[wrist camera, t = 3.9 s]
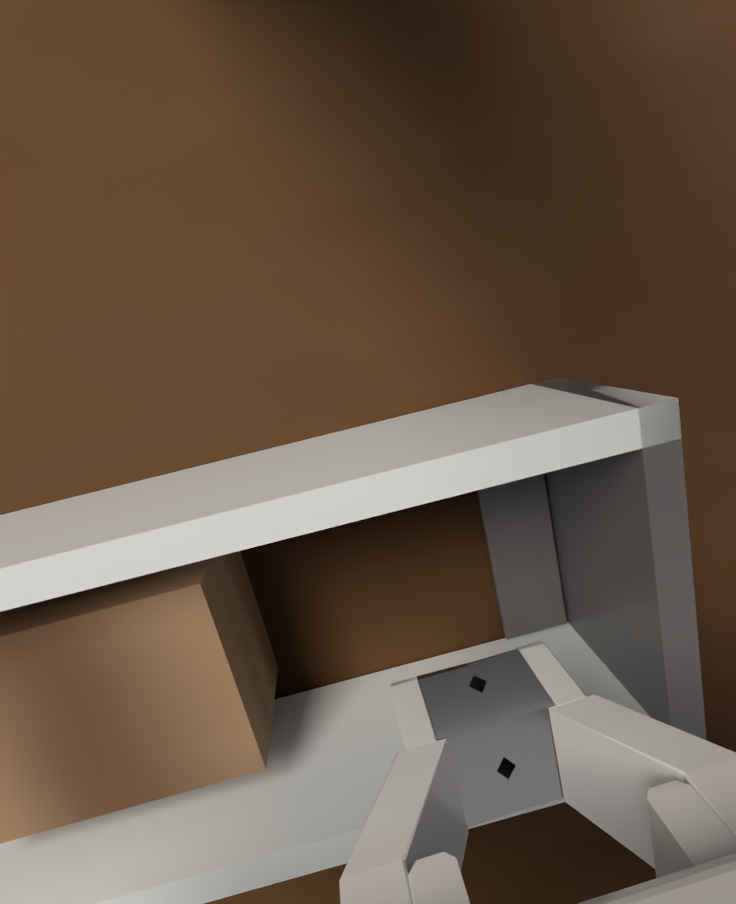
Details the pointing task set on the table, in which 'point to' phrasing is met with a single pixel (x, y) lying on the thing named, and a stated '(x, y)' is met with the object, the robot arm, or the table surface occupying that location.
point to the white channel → (369, 697)
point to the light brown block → (131, 694)
